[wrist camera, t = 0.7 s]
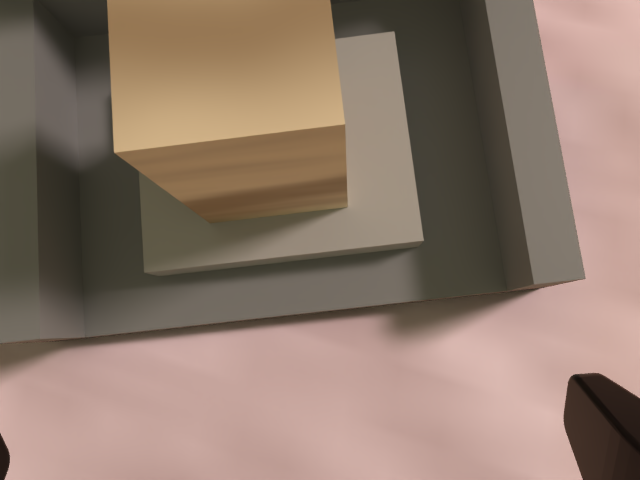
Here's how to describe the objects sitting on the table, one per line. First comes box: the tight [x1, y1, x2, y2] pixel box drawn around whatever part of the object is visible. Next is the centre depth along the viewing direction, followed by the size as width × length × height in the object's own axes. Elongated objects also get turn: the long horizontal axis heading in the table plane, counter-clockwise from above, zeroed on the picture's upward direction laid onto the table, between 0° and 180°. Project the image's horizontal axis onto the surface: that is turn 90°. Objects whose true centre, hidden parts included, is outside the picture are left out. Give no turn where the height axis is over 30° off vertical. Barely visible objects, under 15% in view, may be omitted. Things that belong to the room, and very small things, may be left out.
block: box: [107, 0, 348, 223], centre depth 16 cm, size 5×5×8 cm
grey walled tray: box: [0, 0, 585, 344], centre depth 19 cm, size 14×19×8 cm
